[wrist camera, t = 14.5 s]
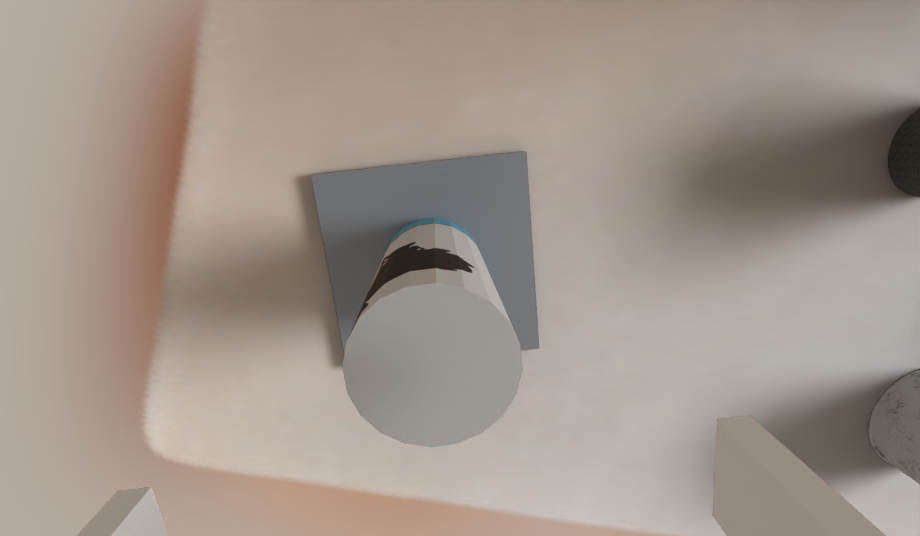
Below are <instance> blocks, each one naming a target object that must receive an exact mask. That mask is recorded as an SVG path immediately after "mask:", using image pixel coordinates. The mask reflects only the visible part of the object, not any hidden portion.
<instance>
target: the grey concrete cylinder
mask: <svg viewBox="0 0 920 536" xmlns="http://www.w3.org/2000/svg"><path fill="white" fill-rule="evenodd" d="M868 436H869V439H870V443H871V446H872V448H873V449H874V451H875V452H876V454H877V455H878V456H879V457H881V458H882V459H883V460H884V461H886V462H888V463H890V464H892V465H893V466H895V467H896V468H897V469H899V470H900V471H902V472H903V473H905V474H906V475H907V476H909V477H910V478H912V479H913V480H915V481H916V482H917V483H919V484H920V369H918V370H916V371H913V372H911V373H909V374H907V375H905V376H904V377H902V378H901V379H899V380H898V381H896V382H895V383H894V384H893V385H892V386H891V387H889V388H888V389H887V390H886V391H885V392H884V394H883V395H882V396H881V398H880V399H879V400H878V402H877V403H876V405H875V407H874V409H873V411H872V414H871V417H870V421H869V430H868Z"/></svg>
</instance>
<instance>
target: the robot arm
mask: <svg viewBox="0 0 920 536" xmlns="http://www.w3.org/2000/svg"><path fill="white" fill-rule="evenodd" d="M712 516H713V517H714V518H715V520H716V521H717V522H718V524H719V525H720V526H721V528H722V529H723V531H724V532H725V533H726V535H727V536H886V535H885V534H884V533H882V532H881V531H880V530H879V529H878V528H877V527H876V526H875V525H873V524H872V523H871V522H870V521H869V520H868V519H867V518H866V517H864V516H863V515H862V514H861V513H860V512H859V511H858V510H856V509H855V508H854V507H853V506H852V505H851V504H850V503H849V502H847V501H846V500H845V499H844V498H843V497H842V496H841V495H840V494H838V493H837V492H836V491H835V490H834V489H833V488H832V487H830V486H829V485H828V484H827V483H826V482H825V481H824V480H823V479H821V478H820V477H819V476H818V475H817V474H816V473H815V472H813V471H812V470H811V469H810V468H809V467H808V466H807V465H806V464H804V463H803V462H802V461H801V460H800V459H799V458H798V457H797V456H795V455H794V454H793V453H792V452H791V451H790V450H789V449H787V448H786V447H785V446H784V445H783V444H782V443H781V442H780V441H778V440H777V439H776V438H775V437H774V436H773V435H772V434H771V433H769V432H768V431H767V430H766V429H765V428H764V427H763V426H761V425H760V424H759V423H758V422H757V421H756V420H755V419H754V418H752V417H751V416H750V415H747V416H738V417H730V418H722V419H717V437H716V456H715V475H714V495H713V514H712ZM77 536H168V534H167V532H166V529H165V526H164V523H163V520H162V517H161V514H160V511H159V508H158V505H157V503H156V499H155V496H154V493H153V490H152V487H145V488H137V489H128V490H120V491H117V492H116V493H115V494H114V495H113V496H112V497H111V498H110V500H109V501H108V502H107V503H106V504H105V505H104V506H103V507H102V509H100V511H99V512H98V513H97V514H96V515H95V516H94V517H93V518H92V519H91V521H90V522H89V523H88V524H87V525H86V526H85V527H84V528H83V529H82V530H81V531H80V533H79V534H78V535H77Z"/></svg>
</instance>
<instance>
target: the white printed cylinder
mask: <svg viewBox="0 0 920 536" xmlns="http://www.w3.org/2000/svg"><path fill="white" fill-rule="evenodd" d="M342 369H343V373H344V378H345V383H346V388H347V393H348V395H349V397H350V398H351V400H352V402H353V403H354V405H355V407H356V408H357V410H358V412H359V413H360V415H361V416H362V417H363V418H364V419H365V420H366V421H368V422H369V423H370V424H371V425H372V426H373V427H375V428H376V429H377V430H378V431H379V432H380V433H382V434H385V435H387V436H389V437H391V438H394V439H396V440H398V441H400V442H403V443H405V444H413V445H420V446H427V447H436V446H443V445H450V444H457V443H460V442H462V441H465V440H467V439H469V438H472V437H474V436H476V435H478V434H481V433H483V432H484V431H485V430H486V429H488V428H489V427H490V426H491V425H492V424H494V423H495V422H496V421H497V420H498V419H500V418H501V417H502V416H503V414H504V413H505V411H506V410H507V408H508V407H509V405H510V404H511V402H512V400H513V399H514V397H515V396H516V394H517V390H518V386H519V382H520V378H521V374H522V370H523V369H522V358H521V347H520V343H519V341H518V338H517V336H516V334H515V331H514V329H513V327H512V324H511V322H510V320H509V318H508V315H507V313H506V311H505V308H504V306H503V304H502V301H501V299H500V297H499V295H498V292H497V290H496V288H495V285H494V283H493V281H492V279H491V276H490V274H489V272H488V269H487V267H486V265H485V262H484V260H483V258H482V256H481V253H480V251H479V249H478V247H477V245H476V242H475V240H474V239H473V238H472V237H471V236H470V234H469V233H468V232H467V231H466V230H465V229H464V228H462V227H460V226H459V225H457V224H455V223H453V222H451V221H449V220H443V219H438V218H429V219H421V220H417V221H415V222H413V223H411V224H409V225H406V226H404V227H403V228H402V229H401V230H400V231H399V232H398V233H397V234H396V235H395V236H394V237H393V238H392V240H391V242H390V244H389V246H388V248H387V250H386V252H385V254H384V256H383V259H382V261H381V263H380V266H379V268H378V270H377V273H376V275H375V277H374V279H373V282H372V284H371V286H370V289H369V291H368V293H367V296H366V298H365V300H364V303H363V305H362V307H361V309H360V312H359V314H358V316H357V319H356V321H355V323H354V326H353V328H352V330H351V333H350V335H349V337H348V340H347V342H346V348H345V354H344V361H343V368H342Z"/></svg>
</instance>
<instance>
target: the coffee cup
mask: <svg viewBox="0 0 920 536" xmlns="http://www.w3.org/2000/svg"><path fill="white" fill-rule="evenodd" d="M889 171H890V175H891V177H892V179H893V181H894V183H895V184H896V185H897V187H898V188H899V189H901V190H902V191H903V192H905V193H907V194H910V195H913V196H918V197H920V110H918V111H917V112H915V113H914V114H913V115H912V116H910V117H909V118H908V119H907V120H906V121H905V122H904V124H903V125H902V126H901V127H900V129H899V130H898V132H897V134H896V135H895V137H894V140H893V142H892V145H891V148H890V152H889Z"/></svg>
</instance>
